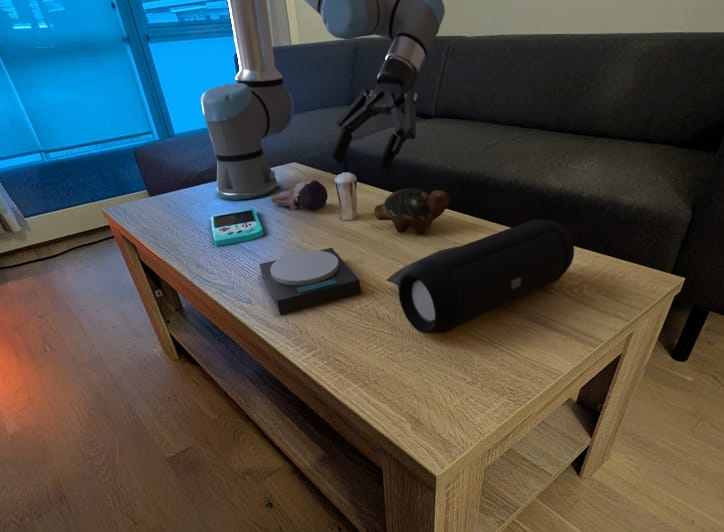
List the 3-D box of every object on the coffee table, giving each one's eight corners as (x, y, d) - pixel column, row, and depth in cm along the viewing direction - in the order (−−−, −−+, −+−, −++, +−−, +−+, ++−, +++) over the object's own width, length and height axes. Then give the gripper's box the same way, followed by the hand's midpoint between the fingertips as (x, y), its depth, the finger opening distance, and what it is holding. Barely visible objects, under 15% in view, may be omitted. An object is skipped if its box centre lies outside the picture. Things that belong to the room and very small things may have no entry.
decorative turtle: (447, 239, 85) (445, 197, 80) (371, 241, 89) (364, 201, 84) (453, 218, 92) (452, 178, 87) (382, 220, 96) (377, 182, 91)
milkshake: (335, 215, 99) (329, 167, 93) (359, 212, 99) (354, 165, 93) (335, 222, 95) (329, 173, 89) (360, 220, 96) (356, 171, 89)
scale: (262, 277, 77) (257, 259, 75) (333, 260, 80) (331, 243, 78) (280, 315, 67) (275, 295, 65) (361, 294, 70) (359, 275, 68)
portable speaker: (440, 353, 57) (442, 283, 51) (395, 320, 63) (392, 255, 57) (571, 290, 67) (586, 225, 61) (521, 267, 74) (530, 207, 68)
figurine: (288, 192, 110) (337, 183, 102) (289, 219, 111) (337, 212, 103) (259, 182, 102) (309, 172, 94) (260, 211, 102) (310, 203, 95)
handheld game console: (214, 246, 89) (212, 240, 88) (211, 220, 101) (209, 214, 100) (264, 237, 91) (263, 231, 90) (255, 213, 103) (254, 207, 102)
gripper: (457, 84, 90) (414, 181, 90) (366, 81, 103) (328, 166, 104) (443, 55, 83) (396, 160, 84) (347, 56, 97) (307, 146, 97)
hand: (358, 163), depth 94 cm, fingers open, 13 cm apart
